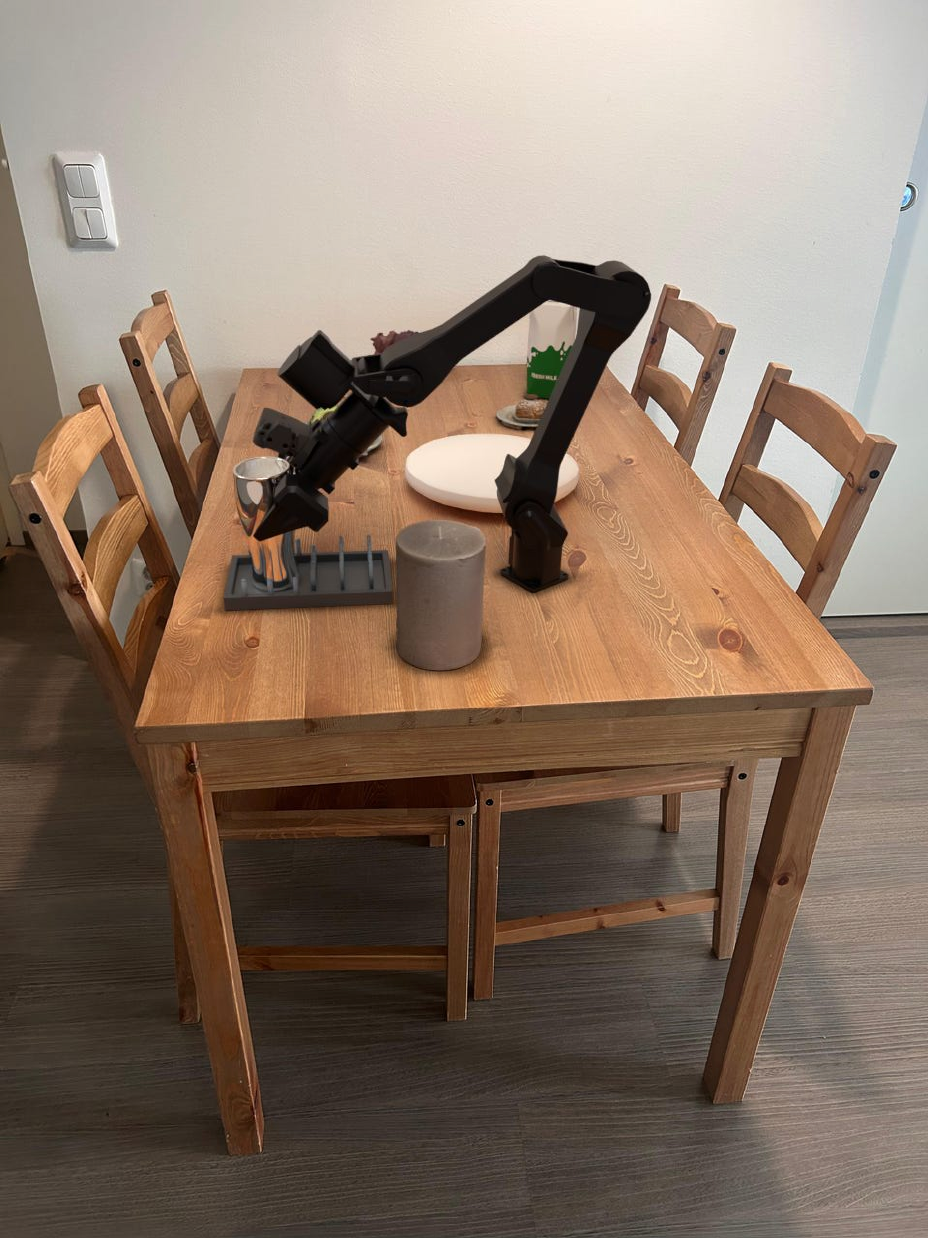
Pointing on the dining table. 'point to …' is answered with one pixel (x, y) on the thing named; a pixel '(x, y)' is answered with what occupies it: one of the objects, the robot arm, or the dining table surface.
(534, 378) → the green white milk carton
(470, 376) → the dining table surface
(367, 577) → the rack
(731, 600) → the dining table surface
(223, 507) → the dining table surface
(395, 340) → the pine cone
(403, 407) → the robot arm
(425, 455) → the plate
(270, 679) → the dining table surface
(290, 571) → the beer glass
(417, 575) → the pillar candle
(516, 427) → the pastry
